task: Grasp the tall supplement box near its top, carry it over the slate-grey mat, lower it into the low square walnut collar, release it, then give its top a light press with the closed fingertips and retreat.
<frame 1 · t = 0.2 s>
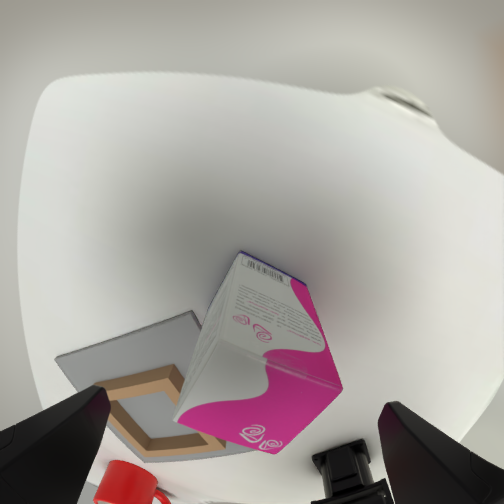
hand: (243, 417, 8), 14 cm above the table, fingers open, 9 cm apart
mug: (144, 479, 31), on the table
holder: (160, 408, 25), on the table
supplement box: (256, 298, 22), on the table
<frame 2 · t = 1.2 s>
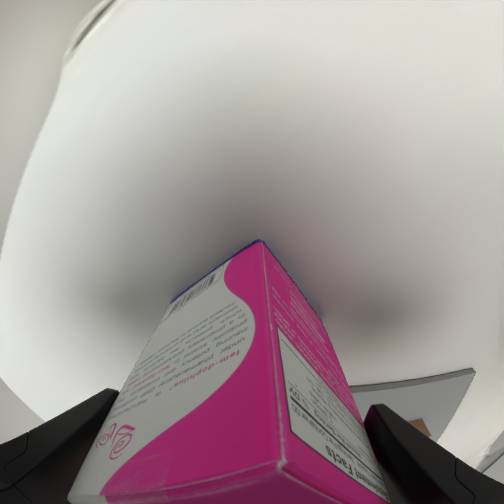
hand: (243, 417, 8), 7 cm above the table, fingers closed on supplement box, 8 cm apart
holder: (341, 461, 18), on the table
supplement box: (249, 312, 15), on the table, touching gripper
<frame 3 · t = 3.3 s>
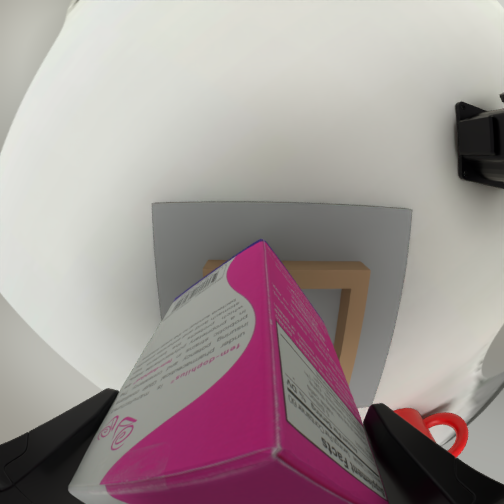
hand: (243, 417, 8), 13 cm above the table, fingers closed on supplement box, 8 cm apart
mug: (405, 423, 24), on the table
holder: (282, 325, 21), on the table
supplement box: (251, 310, 15), point 5 cm above the table, touching gripper
when the fingers open (9 cm above the table, at t = 5.0 s): supplement box stays where it is, resting on holder.
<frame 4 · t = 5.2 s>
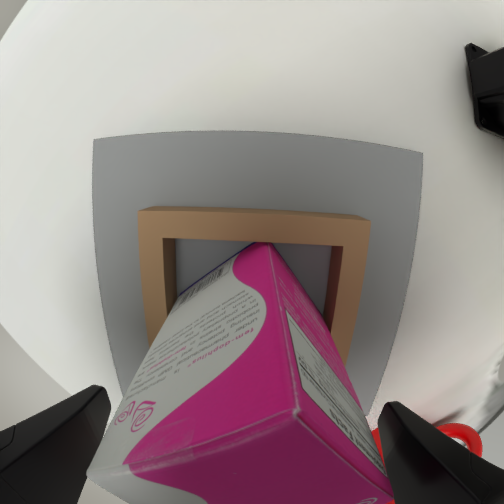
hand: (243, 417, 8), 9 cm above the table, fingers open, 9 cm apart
mug: (407, 435, 19), on the table
holder: (250, 302, 16), on the table
supplement box: (253, 305, 15), resting on holder
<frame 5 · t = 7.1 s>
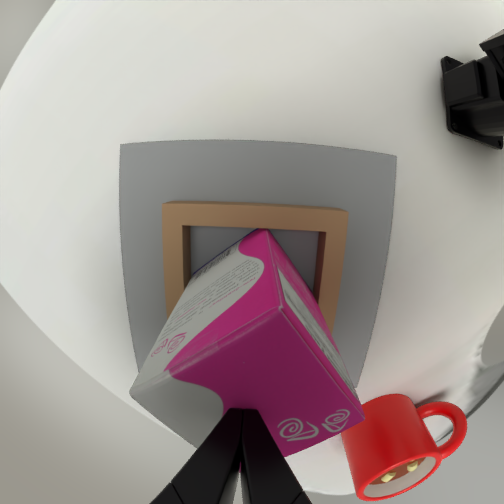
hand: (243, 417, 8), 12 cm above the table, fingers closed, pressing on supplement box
mug: (396, 412, 23), on the table
holder: (252, 280, 19), on the table
supplement box: (254, 283, 19), resting on holder, touching gripper
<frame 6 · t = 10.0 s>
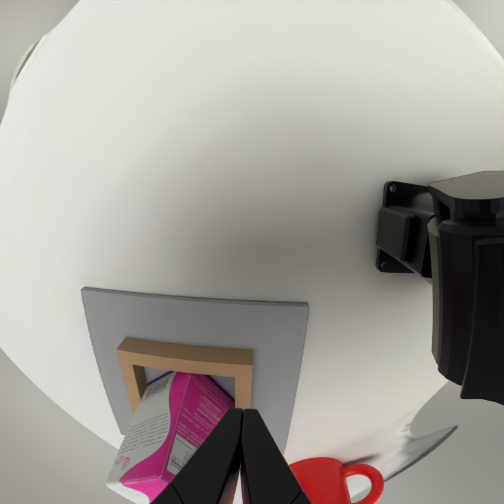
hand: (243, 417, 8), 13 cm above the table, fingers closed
mug: (327, 467, 27), on the table
holder: (191, 388, 23), on the table
supplement box: (192, 391, 23), resting on holder
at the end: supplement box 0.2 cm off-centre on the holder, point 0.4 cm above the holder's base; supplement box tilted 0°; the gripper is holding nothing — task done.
